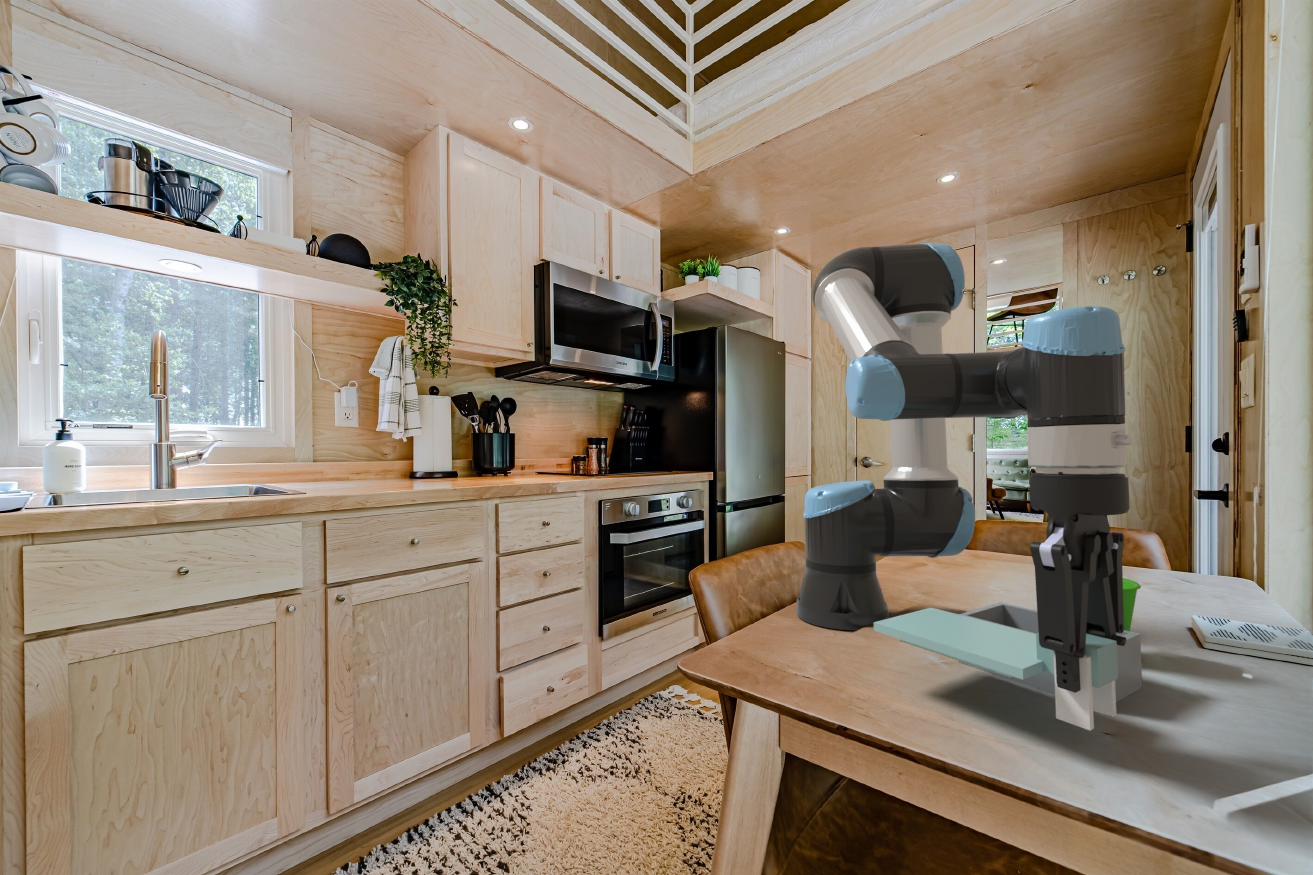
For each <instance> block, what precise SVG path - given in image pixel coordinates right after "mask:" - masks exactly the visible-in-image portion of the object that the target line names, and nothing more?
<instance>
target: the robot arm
mask: <svg viewBox="0 0 1313 875" xmlns="http://www.w3.org/2000/svg"><path fill="white" fill-rule="evenodd" d="M964 269H965V268H964V266H963V261H962V260H961V257H960V255H959V253H958V252H957V250H955V249H953V248H952V246H950V245H949V244H945V243H929V242H920V243H914V244H897V245H886V246H885V245H883V246H863V247H862V246H860V247H858V248H852V249H849V250H847V251H845V252H842V253H841V254H838V255H837V256H836V257H833V258H832V259H831V260H830V261H829V262H827V263H826V264H825V265H824V266H823V268H821V270H820V271H819V273H818V274H817V276H816V279H815V280H814V283H813V287H812V296H811V297H812V301H813V305H814V308H815V310H816V312H817V314H818V316H819V317H820V318H821V319H822V320H823V321H824V322H826V323H827V324H830V325H831V328H832V329H833V331H834V333H835V335H836V337H837V340H838V341H839V343H840V345H841V347H842V349H843V351H844V353H845V355H846V357H847V359H848V361H849V365H848V368H847V370H846V375H845V376H846V377H845V397H846V399H847V400H846V401H847V409H848V411H849V412H850V413H851V415H852V416H854V417H855V418H857V419H860V420H880V421H883V422H886V421H889V422H890V434H891V435H890V436H891V437H890V440H891V441H890V442H891V466H892V468H891V469H890V471H889V472H887V473H886V475H884V476H883V488H876V486H875V484H874V482H873V481H872V480H853V481H852V480H851V481H841V482H833V483H828V484H827V483H826V484H822V485H821V484H820V485H818V486H813V487H812V488H810V489H809V490H807V492H806V494H805V496H804V509H803V515H802V516H803V519H804V538H805V539H804V540H805V543H804V545H805V546H804V547H805V548H804V549H805V572H804V577H803V579H802V584H801V585H800V586H801V587H800V591H799V595H798V596H797V599H796V616H797V617H798V618H799V619H801V620H802V621H804V622H806V623H809V624H811V625H813V626H814V625H815V626H818V627H822V628H827V629H834V630H843V631H860V630H861V629H864V628H866V627H871V626H874V622H877V621H881V620H885V619H889V618H890V617H889V616H890V615H889V606H888V604H887V602H886V600H885V597H884V594H883V591H882V588H881V584H880V581H879V578H878V575H877V558H878V557H928V558H931V559H936V558H938V557H953V556H957V555H959V554H960V553H963V552H964V551H965V550H966V548H967V546H968V545H969V544H970V543H971V540H972V538H973V535H974V531H975V526H976V508H975V507H976V506H975V504H974V502H973V497H972V495H971V493H970V492H969V491H968V490H967V489H966V488H964V487H961V486H959V477H958V476H957V475H956V474H955V473H954V472H952V471H951V470H950V469H949V467H948V452H947V449H948V448H947V446H948V445H947V427H946V423H947V422H946V419H950V418H951V419H956V418H959V419H960V418H964V419H965V418H989V419H995V420H996V419H997V420H999V419H1000V420H1002V419H1007V420H1010V419H1011V420H1012V419H1014V418H1018V417H1021V416H1022V417H1023V416H1026V418H1027V420H1026V422H1027V462H1028V463H1027V465H1028V466H1030V467H1031V468H1035V472H1033V473H1031V476H1029V477H1028V478H1029V503H1030V506H1031V508H1032V509H1033V510H1035V511H1039V512H1045V513H1046V514H1047V515H1048V520H1047V527H1046V531H1045V532H1046V533H1045V534H1046V537H1045V538H1046V539H1045V541H1044V542H1040V541H1032V542H1031V543H1030V548H1029V549H1030V554H1031V557H1032V562H1033V565H1034V576H1035V578H1034V579H1035V595H1036V596H1035V598H1036V610H1037V614H1038V632H1039V644H1040V646H1041V647H1043V648H1046V649H1050V650H1053V653H1054V678H1055V695H1054V697H1055V699H1054V700H1055V718H1056V719H1057V720H1060V721H1062V722H1066V723H1068V724H1071V725H1073V726H1076V727H1078V728H1079V727H1080V728H1082V729H1084V730H1086V731H1092V730H1094V728H1095V719H1094V712H1097V713H1099V714H1103V715H1106V716H1109V717H1112V718H1114V717H1116V716H1117V702H1116V691H1115V680H1114V681H1112V682H1110V683H1108V684H1106V685H1104V686H1102V687H1100V688H1096V687H1093V686H1092V671H1091V656H1087V655H1085V647H1086V634H1090V635H1094V636H1098V637H1102V638H1107V639H1111V640H1115V641H1117V645H1119V646H1125V644H1126V637H1121V636H1117V635H1116V633H1120V634H1122V633H1123V632H1124V609H1123V578H1124V576H1123V575H1124V574H1123V552H1124V546H1125V540H1126V539H1125V535H1124V533H1122V532H1117V531H1116V532H1115V531H1111V527H1110V523H1109V518H1108V516H1117V515H1118V516H1119V515H1123V514H1126V513H1128V512H1129V510H1130V507H1131V506H1130V487H1129V484H1130V482H1129V477H1128V476H1126V474H1125V473H1120V472H1119V470H1120V468H1124V467H1126V466H1127V465H1128V459H1127V457H1128V456H1127V446H1131V445H1132V443H1134V439H1133V436H1132V435H1131V434H1126V393H1125V392H1126V391H1125V390H1126V388H1125V387H1126V385H1125V383H1126V382H1125V352H1126V347H1125V345H1124V344H1123V338H1122V330H1121V322H1120V321H1121V320H1120V316H1119V314H1118V312H1117V311H1115V310H1114V309H1113V308H1109V307H1107V306H1099V305H1096V306H1094V305H1093V306H1077V307H1076V306H1075V307H1070V308H1069V307H1067V308H1062V309H1056V310H1051V311H1047V312H1042V313H1040V314H1037V315H1035V316H1032V317H1031V318H1029V319H1028V320H1027V321H1026V323H1025V325H1024V328H1023V329H1024V330H1023V338H1022V340H1021V346H1022V347H1019V348H1016V349H1013V350H1007V351H992V352H991V351H987V352H984V351H983V352H964V353H963V352H962V353H961V352H960V353H943V335H942V334H943V332H942V329H943V327H945V326H946V324H947V323H948V322H949V321H951V319H952V311H954V310H957V309H958V308H959V306H960V304H961V302H962V300H963V297H964V293H963V290H965V286H966V285H965V282H966V278H965V270H964Z"/></svg>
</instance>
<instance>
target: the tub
mask: <svg viewBox="0 0 1313 875" xmlns="http://www.w3.org/2000/svg"><path fill="white" fill-rule="evenodd" d="M959 615H962V616H966V617H970V618H974V619H978V620H982V621H986V622H990V623H994V624H998V625H1001V626H1005V627H1009V628H1013V629H1017V630H1021V631H1025V632H1029V633H1033V634H1036V633H1039V632H1038V614H1037V609H1032V608H1027V607H1023V606H1019V605H1015V604H1011V603H1010V604H1009V603H1006V602H1001V601H999V602H996V603H994V604H993V603H992V604H990V605H986V606H982V607H980V608H977V609H976V608H975V609H973V610H968V611H965V612H962V613H959ZM1116 635H1117V636H1121V637H1126V644H1125V646H1119V645H1117V664H1118V679H1116V680H1115V691H1116V703H1118V702H1120V701H1121V700H1123V699H1125V698H1127V697H1128V696H1130V695H1132V694H1133V693H1135V692H1137V691H1139V690H1140V689H1142V688H1143V675H1142V674H1143V671H1142V669H1143V668H1142V651H1141V650H1142V646H1141V644H1142V643H1141V642H1142V641H1141V633H1139V632H1134V631H1131V630H1130V631H1126V630H1124V632H1123V633H1122V634H1120V633H1116ZM957 662H958V663H960V664H963V665H965V666H969V667H971V668H974V669H976V670H980V671H983V672H986V673H988V674H992V675H995V676H998V677H1000V678H1003V679H1007V680H1009V681H1013V682H1016V683H1019V684H1022V685H1024V686H1028V687H1029V688H1030V687H1031V688H1034V689H1036V690H1040V691H1042V692H1045V693H1048V694H1051V695H1053V696H1055V678H1054V674H1051V673H1047V672H1044V671H1042V672H1040V673H1038V674H1035V675H1033V676H1031V677H1028V678H1026V679H1024V680H1022V679H1019V678H1016V677H1012V678H1010V677H1007V676H1004V675H1001V674H998V673H995V672H992V671H989V670H986V669H983V668H980V667H977V666H974V665H971V664H968V663H965V662H962V661H959V660H957Z"/></svg>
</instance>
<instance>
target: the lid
mask: <svg viewBox="0 0 1313 875" xmlns="http://www.w3.org/2000/svg"><path fill="white" fill-rule="evenodd" d="M959 614H960V613H959ZM959 614H958V613H954V612H950V611H946V610H942V609H939V608H934V607H927V608H924V609H920V610H917V611H913V612H912V611H911V612H909V613H905V614H900V615H898V616H897V615H896V616H893V617H889V618H888V619H885V620H881V621H877V622H874V625H873V631H874V632H877V633H880V634H883V635H886V636H888V637H892V638H895V639H898V640H899V641H900V642H901V643H904V644H907V645H911V646H914V647H917V648H921V649H923V650H925V651H926V650H927V651H929V652H932V653H935V654H938V655H941V656H944V657H947V658H950V659H954V660H956V661H958V660H959V661H962V662H965V663H968V664H971V665H974V666H977V667H980V668H983V669H986V670H989V671H992V672H995V673H998V674H1001V675H1004V676H1007V677H1010V678H1012V677H1016V678H1019V679H1022V680H1024V679H1026V678H1028V677H1031V676H1033V675H1035V674H1038V673H1040V672H1042V671H1044V672H1047V673H1051V674H1054V653H1053V650H1050V649H1046V648H1043V647H1041V646H1040V644H1039V633H1036V634H1033V633H1029V632H1025V631H1021V630H1017V629H1013V628H1009V627H1005V626H1001V625H998V624H994V623H990V622H986V621H982V620H978V619H974V618H970V617H966V616H962V615H959ZM1085 655H1087V656H1091V671H1092V686H1093V687H1096V688H1100V687H1102V686H1104V685H1106V684H1108V683H1110V682H1112V681H1114V680H1116V679H1118V664H1117V641H1115V640H1111V639H1107V638H1102V637H1098V636H1094V635H1090V634H1086V647H1085Z"/></svg>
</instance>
